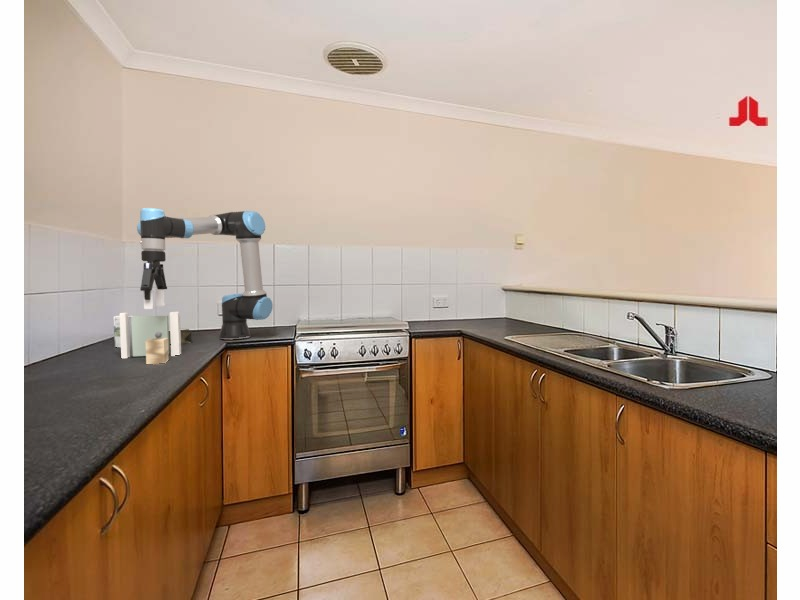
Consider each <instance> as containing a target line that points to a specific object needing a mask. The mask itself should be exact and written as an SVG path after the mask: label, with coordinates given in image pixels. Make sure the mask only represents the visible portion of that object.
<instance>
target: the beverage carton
mask: <svg viewBox="0 0 800 600" xmlns="http://www.w3.org/2000/svg"><path fill="white" fill-rule="evenodd" d="M180 331H181V343H187V344H190V343H189V342H192V343H193V332H192V331H191V329H188V328H186V329H180ZM170 344H171V339H170V330H169V346H171V345H170Z"/></svg>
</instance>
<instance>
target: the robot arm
mask: <svg viewBox="0 0 800 600" xmlns="http://www.w3.org/2000/svg"><path fill="white" fill-rule="evenodd" d="M139 215H140V217H139V222H138V223H137V224H136V230H137V233H138V235H139V236H140V240H141V241H139V244H140V245H141V246H140V247H141V254H140V255H141V261H143V262H144V263H143V270H142V277H141V282H140V283H141V285H140V290H139V291H141V292H143V309H144V310H153V309H154V291H153V286H154V282H155V286H156V289H155V290H156V292H155V294H156V307H165V306H166V293H165V292H166V291H165V290H167V289H168V286H167V283H166V277H165V271H164V264H161V263H163V262H166V252H165V251H166V239H172V238H177V239H178V238H179V239H189V238H192V236H197V235H198V236H199V235H208V234H211V235H213V236H233V237H234V236H235V240H236V241H237V242H238V243H239V248H240V257H241V266H242V275H243V276H242V277H243V285H244V291H243V292H242V293H237V294H234V293H233V294H227V295H223V296H222V298H221V315H222V316H221V317H222V324H221V329H220V331H219V334H218V339H219V338H239V337H246V336H250V337H251V332H250V328H249V325H248V323H247V322H248V321H247V320H255V321H260V320H261V321H262V320H266V319H267V318H269V316H270V314H271V313H272V311H273V306H274V305H273V301H272V300H271V298H270V297H268V294H267V291H265V290H264V286H263V278H262V277H263V275H262V267H261V265H262V263H261V255H260V246H259V245H260V244H259V242H260V241H261V240H262V235H263V234H264V233H265V231H266V222H265V219H264V217H263V216H262V215H261V214H260V213H259V212H257V211H254V210H244V211H243V210H242V211H230V212H224V213H219V214H212V215H211V214H210V215H209V216H207V217H185V218H184V217H183V218H180V217H179V218H178V217H169V216H166V214H165V211H164V210H163V209H160V208H154V207H143V208H141V210H140V214H139Z"/></svg>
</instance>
